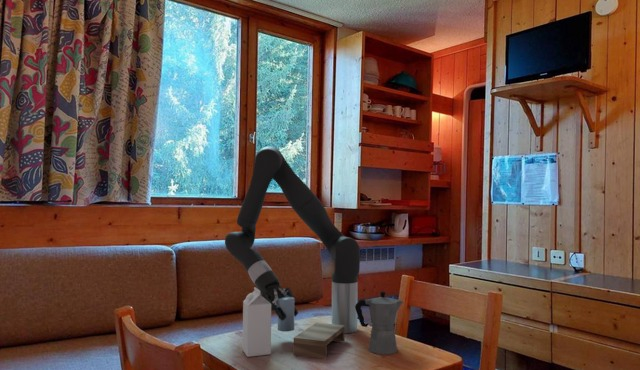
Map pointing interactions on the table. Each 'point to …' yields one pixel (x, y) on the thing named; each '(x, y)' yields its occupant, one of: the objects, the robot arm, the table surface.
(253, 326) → the milk carton
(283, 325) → the blue dome-topped cylinder
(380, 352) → the coffeepot
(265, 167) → the robot arm
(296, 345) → the shelf
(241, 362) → the table surface
